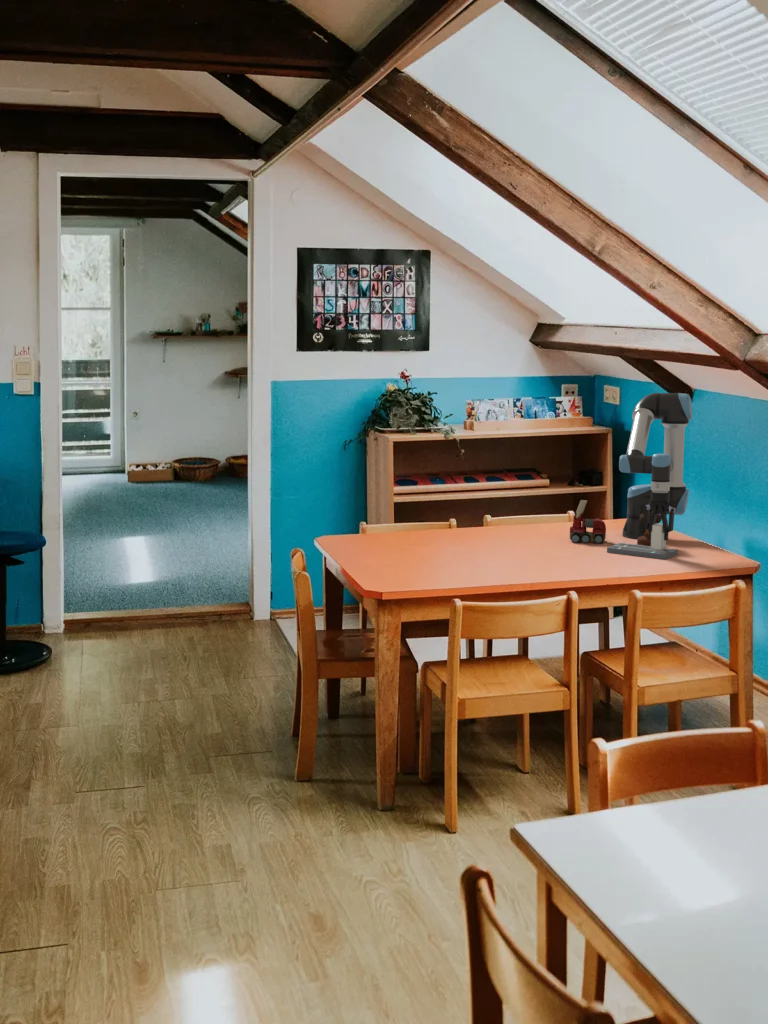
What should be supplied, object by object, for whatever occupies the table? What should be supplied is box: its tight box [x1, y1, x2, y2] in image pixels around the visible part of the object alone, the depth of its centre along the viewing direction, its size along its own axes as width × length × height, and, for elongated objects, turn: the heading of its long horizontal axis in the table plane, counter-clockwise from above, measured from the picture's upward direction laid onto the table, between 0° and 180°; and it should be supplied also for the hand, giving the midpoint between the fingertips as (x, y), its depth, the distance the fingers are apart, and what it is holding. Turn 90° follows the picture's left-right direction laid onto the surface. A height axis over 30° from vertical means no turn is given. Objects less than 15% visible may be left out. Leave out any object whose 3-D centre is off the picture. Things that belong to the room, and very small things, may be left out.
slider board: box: [606, 542, 679, 560], centre depth 467 cm, size 13×26×3 cm, turn 53°
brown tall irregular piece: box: [636, 503, 662, 546], centre depth 481 cm, size 15×11×20 cm
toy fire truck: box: [569, 499, 607, 545], centre depth 493 cm, size 11×16×18 cm
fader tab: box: [650, 523, 667, 551], centre depth 461 cm, size 5×5×11 cm
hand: (658, 547), depth 462 cm, fingers closed on fader tab, 4 cm apart
